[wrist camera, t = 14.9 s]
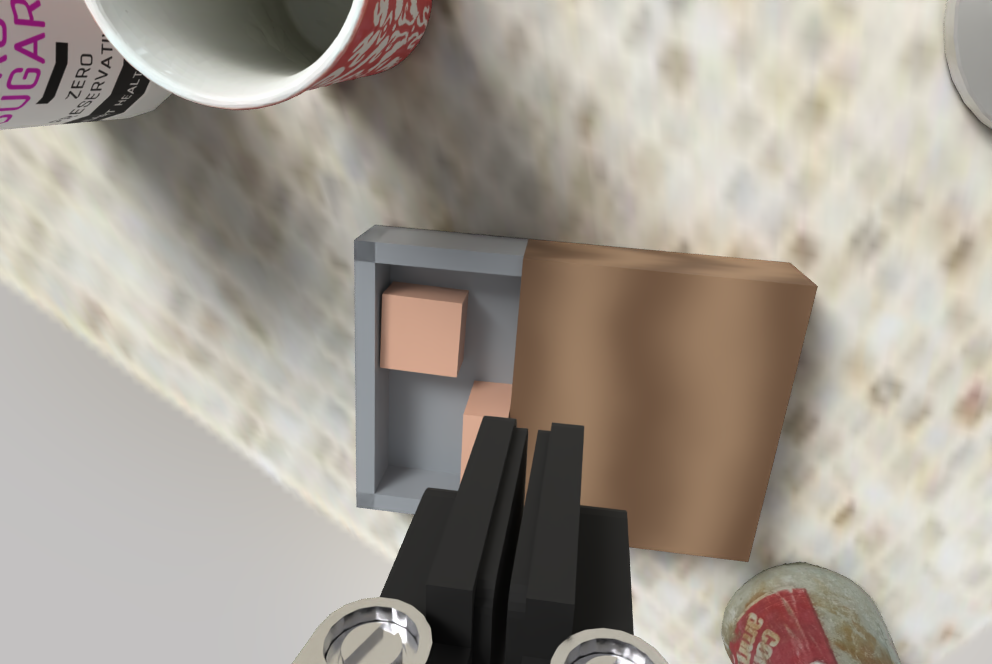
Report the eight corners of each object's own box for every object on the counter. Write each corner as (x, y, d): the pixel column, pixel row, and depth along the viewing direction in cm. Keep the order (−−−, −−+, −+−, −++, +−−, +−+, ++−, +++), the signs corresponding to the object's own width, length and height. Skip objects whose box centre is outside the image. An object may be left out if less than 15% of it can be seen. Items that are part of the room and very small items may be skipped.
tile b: (382, 293, 33) (393, 281, 35) (379, 367, 35) (390, 351, 37) (462, 303, 33) (468, 290, 35) (456, 377, 34) (463, 360, 36)
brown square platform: (790, 262, 33) (817, 286, 29) (731, 515, 39) (748, 561, 35) (528, 238, 34) (522, 258, 30) (506, 488, 40) (499, 530, 36)
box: (528, 238, 34) (523, 256, 31) (506, 488, 40) (500, 525, 36) (374, 224, 35) (354, 240, 32) (374, 472, 40) (356, 507, 37)
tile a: (507, 419, 33) (463, 414, 33) (502, 488, 34) (460, 483, 34) (514, 384, 36) (474, 380, 37) (509, 448, 38) (471, 444, 38)
